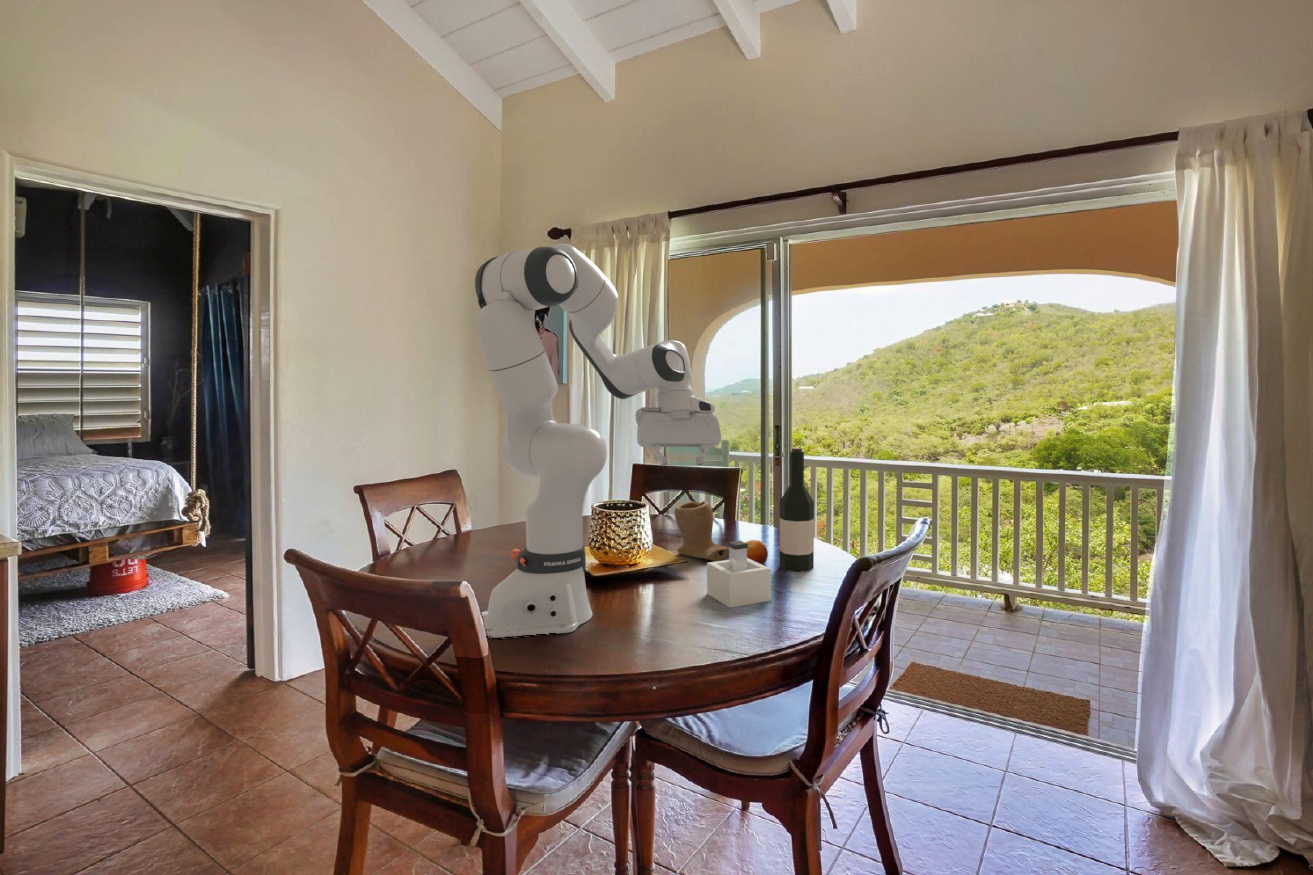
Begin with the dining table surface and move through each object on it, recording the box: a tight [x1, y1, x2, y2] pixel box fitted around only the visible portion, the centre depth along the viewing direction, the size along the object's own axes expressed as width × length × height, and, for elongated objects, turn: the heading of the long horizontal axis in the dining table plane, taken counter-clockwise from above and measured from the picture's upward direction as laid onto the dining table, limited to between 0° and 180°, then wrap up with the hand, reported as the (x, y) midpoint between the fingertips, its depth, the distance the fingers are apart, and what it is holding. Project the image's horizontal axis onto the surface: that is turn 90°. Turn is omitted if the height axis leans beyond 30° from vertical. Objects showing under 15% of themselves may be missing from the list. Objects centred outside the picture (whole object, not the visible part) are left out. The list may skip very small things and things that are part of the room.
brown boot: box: [674, 500, 729, 562], centre depth 176 cm, size 15×12×15 cm
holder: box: [706, 558, 772, 608], centre depth 143 cm, size 10×10×7 cm
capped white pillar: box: [727, 540, 748, 572], centre depth 143 cm, size 4×4×11 cm
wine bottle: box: [779, 447, 815, 573], centre depth 165 cm, size 8×8×30 cm
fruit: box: [744, 539, 769, 567], centre depth 167 cm, size 8×8×8 cm
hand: (682, 464), depth 154 cm, fingers open, 8 cm apart
